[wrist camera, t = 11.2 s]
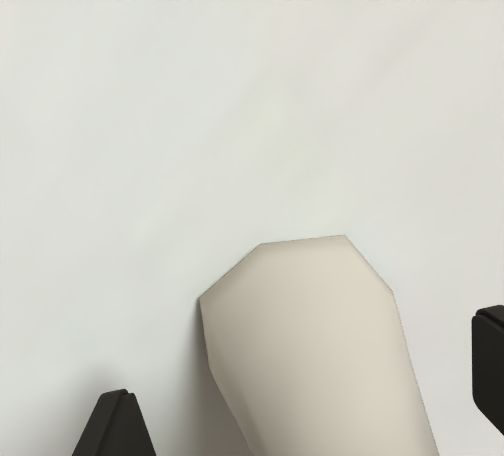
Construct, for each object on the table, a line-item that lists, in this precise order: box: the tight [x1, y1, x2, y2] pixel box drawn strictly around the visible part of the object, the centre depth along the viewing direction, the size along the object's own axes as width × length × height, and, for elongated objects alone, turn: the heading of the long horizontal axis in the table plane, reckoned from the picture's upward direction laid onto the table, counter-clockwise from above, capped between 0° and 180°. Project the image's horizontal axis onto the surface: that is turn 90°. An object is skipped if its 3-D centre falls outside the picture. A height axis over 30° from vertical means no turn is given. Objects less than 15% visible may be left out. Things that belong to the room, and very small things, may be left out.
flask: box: [199, 235, 439, 456], centre depth 8 cm, size 7×7×10 cm
